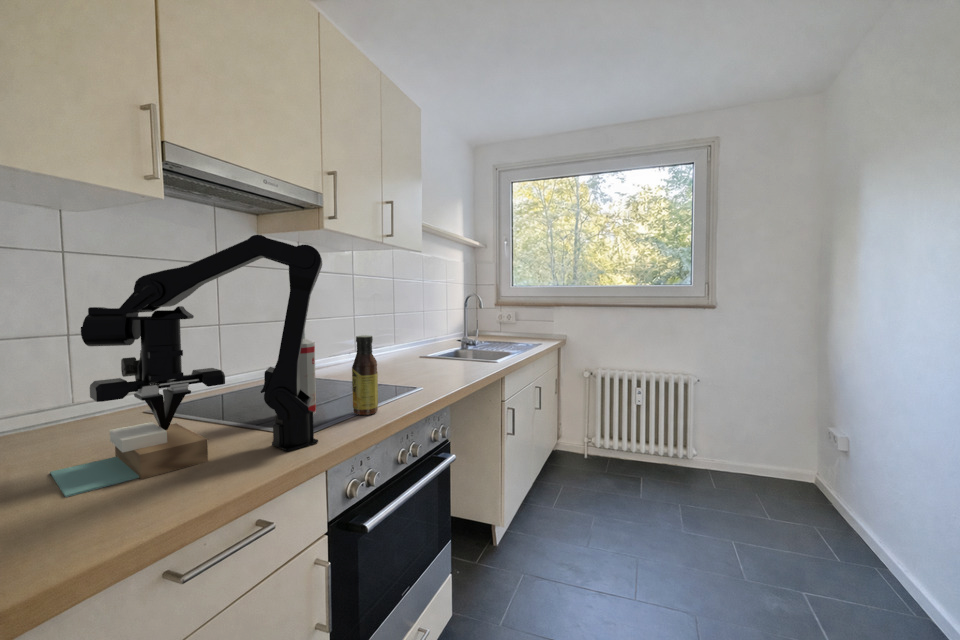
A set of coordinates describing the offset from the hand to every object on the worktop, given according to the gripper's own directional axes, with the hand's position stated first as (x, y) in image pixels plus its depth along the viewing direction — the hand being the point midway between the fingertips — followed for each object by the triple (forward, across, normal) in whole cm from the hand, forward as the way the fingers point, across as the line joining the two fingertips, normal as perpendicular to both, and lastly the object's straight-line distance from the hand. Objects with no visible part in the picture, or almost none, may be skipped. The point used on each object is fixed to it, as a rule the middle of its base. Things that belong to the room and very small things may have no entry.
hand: (164, 430), depth 75 cm
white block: (+1, +4, 0) cm, 4 cm away
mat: (+5, +9, 0) cm, 11 cm away
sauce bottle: (+5, -41, +4) cm, 42 cm away
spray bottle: (+5, -30, -8) cm, 32 cm away
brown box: (+5, +1, 0) cm, 5 cm away
